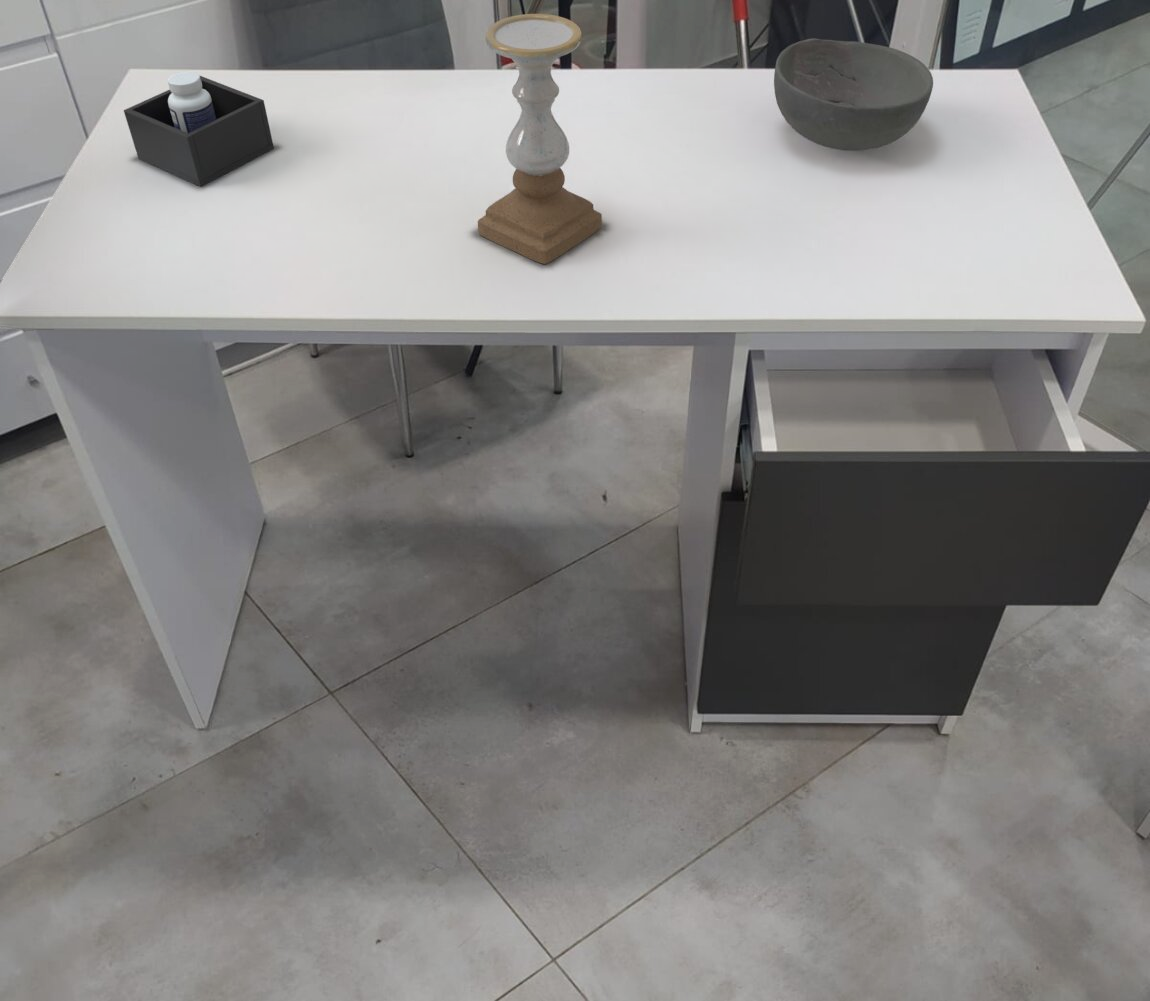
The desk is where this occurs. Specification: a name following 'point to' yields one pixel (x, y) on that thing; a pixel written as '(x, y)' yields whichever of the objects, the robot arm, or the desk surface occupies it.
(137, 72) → the desk surface
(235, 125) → the basket
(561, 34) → the candle holder
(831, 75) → the bowl
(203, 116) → the pill bottle
